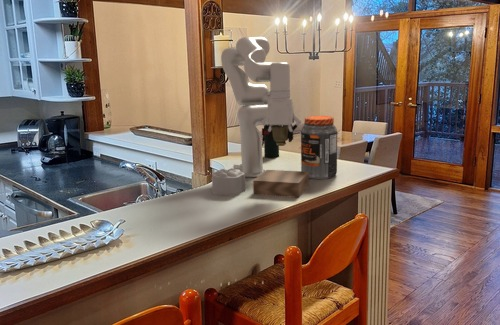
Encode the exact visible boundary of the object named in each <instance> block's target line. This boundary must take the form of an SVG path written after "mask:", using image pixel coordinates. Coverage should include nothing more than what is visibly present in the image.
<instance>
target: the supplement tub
mask: <svg viewBox="0 0 500 325" xmlns="http://www.w3.org/2000/svg"><path fill="white" fill-rule="evenodd" d="M334 122H335V120H334V117H333V116H329V115H311V116H306V117H304V124H303V126H302V127H301V130H300V153H301V154H300V157H301V158H300V165H301V167H300V168H301V169H300V170H301V171H303V172H309V179H314V180H315V179H316V180H326V179H331V178H334V177H335V176H336V175H337V173H338V128H337V127H336V125H334Z"/></svg>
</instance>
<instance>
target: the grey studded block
mask: <svg viewBox="0 0 500 325" xmlns="http://www.w3.org/2000/svg"><path fill="white" fill-rule="evenodd" d="M211 181H212V183H211V184H212V186H211V187H212V193H214V194H215V195H220V196H232V197H233V196H240V195H242V193H244V192H246V177H245V173H243V172H241V171H240V170H239V169H237V170H236V169H234V168H233V167H231V168H229V169H228V170H227V169H225V168H220V169H219V170H217V171H215V172H212V173H211Z"/></svg>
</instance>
